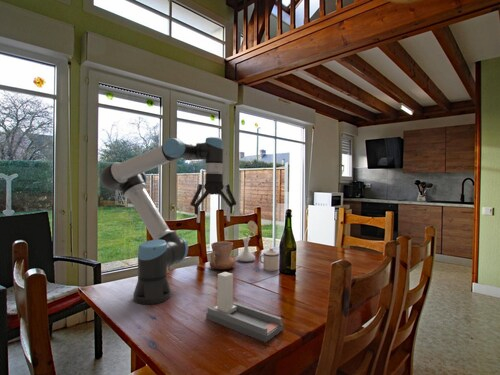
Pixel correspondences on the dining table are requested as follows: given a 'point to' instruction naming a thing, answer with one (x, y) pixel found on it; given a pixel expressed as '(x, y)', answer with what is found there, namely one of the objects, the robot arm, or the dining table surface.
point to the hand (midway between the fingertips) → (213, 221)
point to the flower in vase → (246, 254)
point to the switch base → (248, 321)
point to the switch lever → (225, 293)
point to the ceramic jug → (221, 255)
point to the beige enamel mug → (270, 260)
